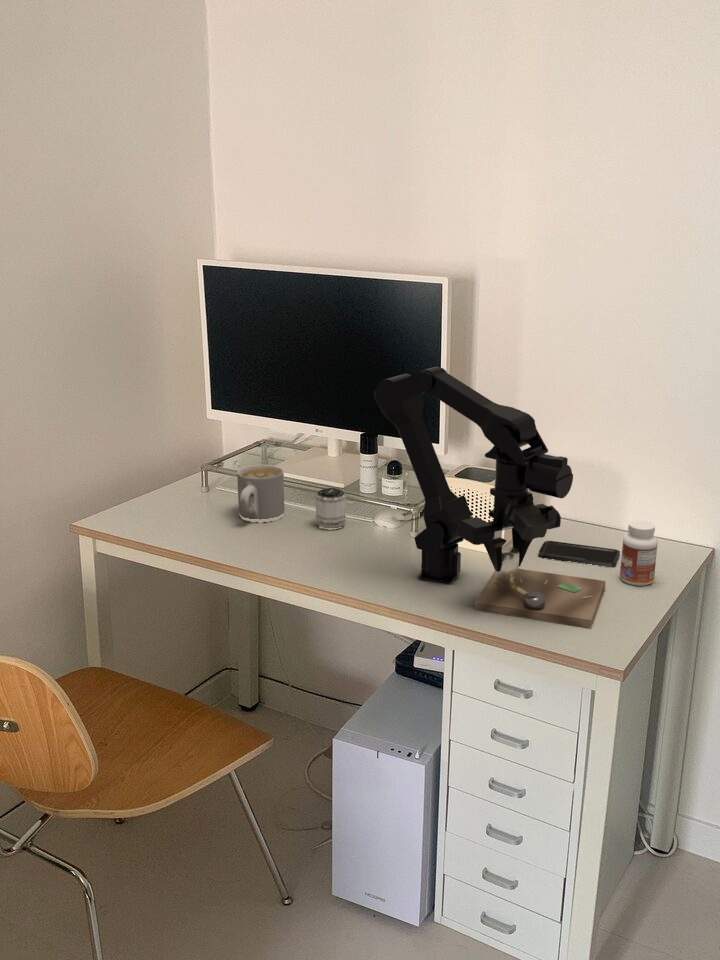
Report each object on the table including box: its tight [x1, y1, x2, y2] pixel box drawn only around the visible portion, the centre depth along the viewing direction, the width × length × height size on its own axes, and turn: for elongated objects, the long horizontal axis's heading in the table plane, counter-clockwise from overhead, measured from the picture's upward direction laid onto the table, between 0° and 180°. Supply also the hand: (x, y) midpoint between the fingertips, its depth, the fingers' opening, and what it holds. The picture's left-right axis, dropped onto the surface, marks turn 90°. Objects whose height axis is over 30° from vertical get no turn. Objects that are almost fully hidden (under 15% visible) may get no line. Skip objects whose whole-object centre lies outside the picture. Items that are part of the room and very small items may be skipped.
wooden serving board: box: [474, 568, 606, 629], centre depth 182 cm, size 20×17×2 cm
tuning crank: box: [494, 546, 546, 609], centre depth 179 cm, size 13×4×7 cm, turn 29°
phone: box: [538, 540, 621, 568], centre depth 201 cm, size 8×1×15 cm
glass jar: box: [315, 487, 347, 528], centre depth 216 cm, size 6×6×8 cm
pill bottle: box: [619, 519, 659, 587], centre depth 188 cm, size 6×6×11 cm
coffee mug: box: [236, 464, 285, 520], centre depth 220 cm, size 13×10×10 cm
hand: (507, 568), depth 182 cm, fingers closed on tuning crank, 4 cm apart
